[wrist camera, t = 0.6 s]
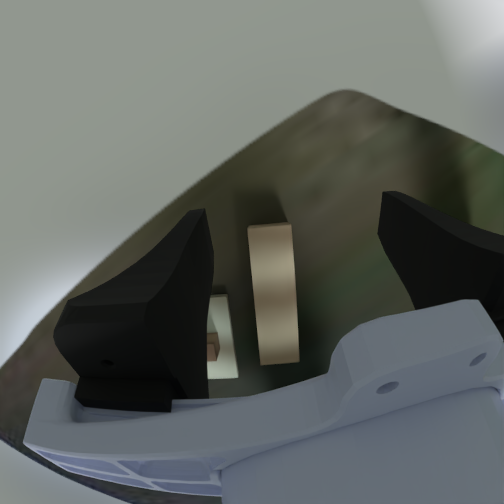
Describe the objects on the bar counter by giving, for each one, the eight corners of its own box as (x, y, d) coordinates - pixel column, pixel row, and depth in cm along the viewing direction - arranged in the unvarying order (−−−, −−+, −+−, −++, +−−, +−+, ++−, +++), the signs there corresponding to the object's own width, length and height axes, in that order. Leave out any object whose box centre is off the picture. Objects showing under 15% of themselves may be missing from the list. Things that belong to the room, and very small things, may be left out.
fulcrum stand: (238, 373, 35) (236, 391, 31) (124, 373, 36) (112, 389, 32) (227, 293, 34) (223, 305, 30) (105, 301, 34) (89, 312, 30)
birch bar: (295, 345, 35) (299, 361, 31) (261, 348, 35) (260, 365, 31) (287, 221, 32) (291, 224, 28) (249, 225, 33) (247, 228, 29)
